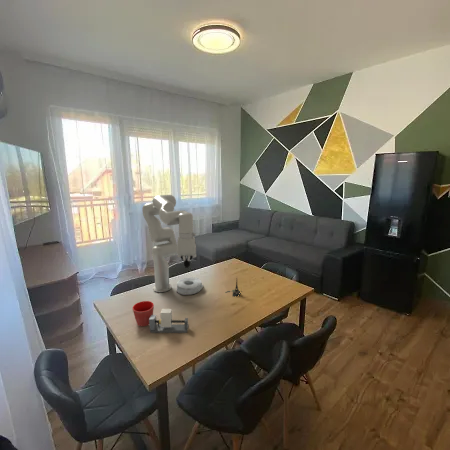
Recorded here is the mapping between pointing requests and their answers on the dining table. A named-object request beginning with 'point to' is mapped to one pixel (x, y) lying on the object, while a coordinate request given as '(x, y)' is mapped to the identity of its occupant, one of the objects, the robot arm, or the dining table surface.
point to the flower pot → (143, 312)
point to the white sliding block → (166, 317)
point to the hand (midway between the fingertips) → (187, 266)
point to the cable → (189, 286)
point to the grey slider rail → (173, 329)
